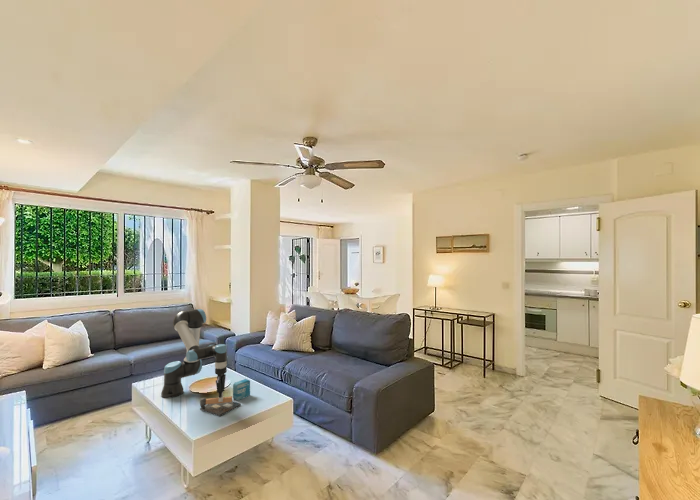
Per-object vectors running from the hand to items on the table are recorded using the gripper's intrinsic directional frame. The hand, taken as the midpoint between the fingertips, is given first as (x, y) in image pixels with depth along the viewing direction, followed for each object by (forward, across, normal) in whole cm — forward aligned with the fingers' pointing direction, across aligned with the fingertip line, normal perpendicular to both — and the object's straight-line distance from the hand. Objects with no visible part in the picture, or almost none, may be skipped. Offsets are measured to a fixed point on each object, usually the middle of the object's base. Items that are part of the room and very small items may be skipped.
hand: (220, 401), depth 227 cm
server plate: (+5, +2, +1) cm, 5 cm away
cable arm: (+2, +1, +4) cm, 4 cm away
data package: (+5, +18, -9) cm, 21 cm away
